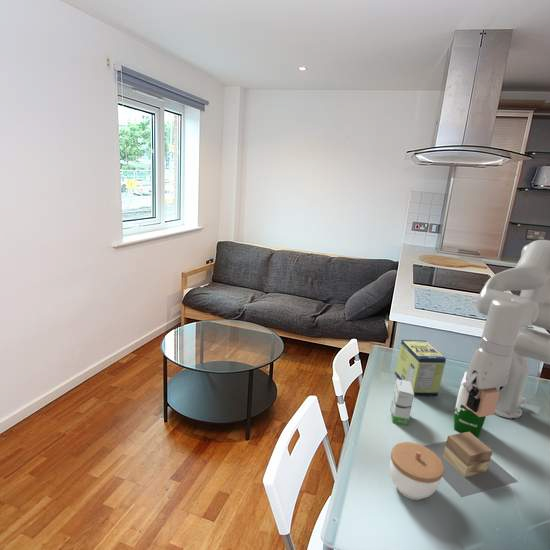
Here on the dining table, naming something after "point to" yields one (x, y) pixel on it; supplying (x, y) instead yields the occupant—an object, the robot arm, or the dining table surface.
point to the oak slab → (461, 466)
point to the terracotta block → (486, 402)
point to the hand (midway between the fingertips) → (479, 407)
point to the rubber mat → (472, 483)
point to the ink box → (401, 402)
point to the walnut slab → (468, 448)
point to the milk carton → (466, 414)
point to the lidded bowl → (415, 470)
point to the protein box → (420, 367)
